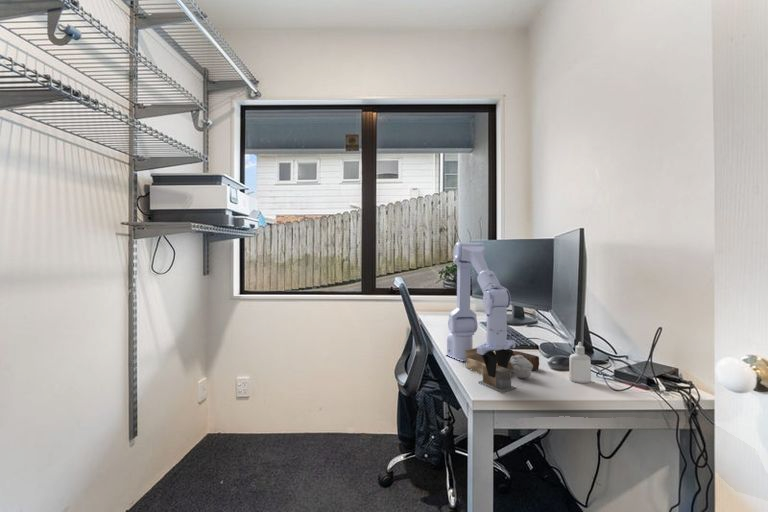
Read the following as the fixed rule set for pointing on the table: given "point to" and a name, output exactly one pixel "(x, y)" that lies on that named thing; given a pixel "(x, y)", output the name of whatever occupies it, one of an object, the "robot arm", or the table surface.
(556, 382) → the table surface
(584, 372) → the eye dropper bottle
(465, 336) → the robot arm
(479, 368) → the carton
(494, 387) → the mat
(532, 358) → the brick
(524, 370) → the grey faceted rock
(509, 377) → the box
